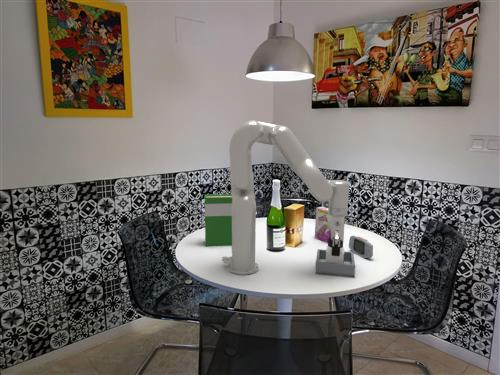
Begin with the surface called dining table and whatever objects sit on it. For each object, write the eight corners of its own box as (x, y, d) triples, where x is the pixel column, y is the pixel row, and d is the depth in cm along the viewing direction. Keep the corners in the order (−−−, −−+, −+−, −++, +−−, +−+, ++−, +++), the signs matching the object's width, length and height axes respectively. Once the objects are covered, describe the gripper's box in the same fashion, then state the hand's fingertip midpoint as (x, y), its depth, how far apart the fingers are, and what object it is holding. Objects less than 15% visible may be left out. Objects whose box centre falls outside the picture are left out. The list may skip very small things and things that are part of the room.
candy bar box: (314, 238, 190) (315, 207, 187) (321, 236, 193) (322, 206, 190) (330, 244, 181) (331, 212, 178) (337, 242, 184) (338, 210, 181)
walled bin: (315, 273, 146) (315, 261, 145) (317, 260, 161) (317, 249, 160) (354, 277, 143) (355, 265, 142) (352, 263, 157) (353, 252, 157)
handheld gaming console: (347, 250, 173) (348, 234, 172) (352, 249, 174) (353, 233, 173) (368, 261, 160) (370, 243, 159) (374, 260, 161) (375, 242, 160)
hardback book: (240, 240, 186) (240, 193, 181) (242, 245, 179) (242, 197, 174) (205, 241, 184) (204, 194, 179) (205, 246, 176) (204, 197, 172)
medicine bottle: (343, 270, 148) (345, 241, 145) (325, 268, 149) (326, 240, 147) (342, 263, 154) (344, 236, 152) (325, 261, 156) (327, 234, 154)
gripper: (348, 217, 138) (345, 260, 141) (346, 206, 155) (344, 245, 158) (327, 215, 140) (325, 258, 143) (328, 205, 156) (326, 243, 160)
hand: (335, 251), depth 151 cm, fingers open, 9 cm apart
